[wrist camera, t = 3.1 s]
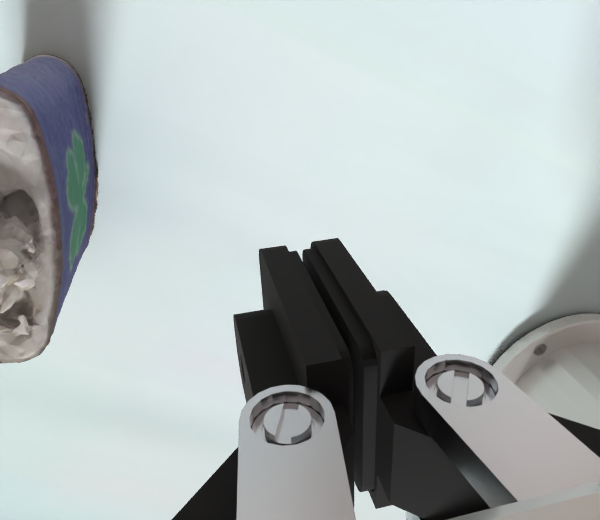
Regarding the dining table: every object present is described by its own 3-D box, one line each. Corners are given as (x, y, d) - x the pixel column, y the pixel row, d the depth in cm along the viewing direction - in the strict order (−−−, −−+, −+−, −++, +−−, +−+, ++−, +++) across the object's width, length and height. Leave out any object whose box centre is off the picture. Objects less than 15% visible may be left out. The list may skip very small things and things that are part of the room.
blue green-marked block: (18, 49, 22) (-96, 91, 12) (95, 58, 23) (42, 104, 13) (34, 256, 26) (-44, 408, 16) (99, 258, 26) (61, 405, 17)
